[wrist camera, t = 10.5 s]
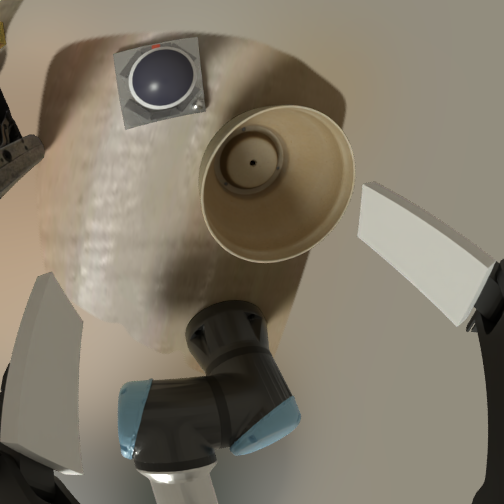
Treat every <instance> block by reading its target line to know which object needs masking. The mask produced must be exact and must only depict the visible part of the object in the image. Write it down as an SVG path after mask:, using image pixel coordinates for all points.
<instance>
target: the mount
mask: <svg viewBox="0 0 504 504" xmlns="http://www.w3.org/2000/svg"><path fill="white" fill-rule="evenodd" d="M158 47H174V48H178V49H180V50H182V51H184V52H185V53H187V54H188V55H189V56H190V57H191V59H192V60H193V62H194V64H195V67H196V74H197V76H196V82H195V85H194V88H193V90H192V91H191V93H190V94H189V95H188V97H187V98H186V99H185V100H183V101H182V102H181V103H179V104H177V105H175V106H173V107H170V108H167V109H151V108H148V107H145V106H143V105H141V104H140V103H139V102H138V101H136V100H135V98H134V97H133V95H132V94H131V91H130V88H129V74H130V71H131V68H132V67H133V65H134V63H135V62H136V61H137V60H138V58H139V57H141V56H142V55H143V54H144V53H146V52H148V51H150V50H152V49H154V48H158ZM113 57H114V65H115V73H116V80H117V86H118V93H119V99H120V104H121V110H122V115H123V120H124V125H125V130H127V129H130V128H134V127H137V126H141V125H145V124H149V123H153V122H157V121H161V120H165V119H170V118H174V117H179V116H184V115H189V114H194V113H199V112H205V111H206V108H205V100H204V92H203V83H202V74H201V65H200V55H199V45H198V37H192V38H185V39H178V40H172V41H166V42H161V43H156V44H151V45H146V46H142V47H138V48H134V49H130V50H126V51H122V52H119V53H115V54H113Z"/></svg>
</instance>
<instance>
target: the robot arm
mask: <svg viewBox="0 0 504 504" xmlns="http://www.w3.org/2000/svg"><path fill="white" fill-rule="evenodd" d="M357 237H358V238H360V239H361V240H362V241H363V242H365V243H366V244H367V245H368V246H369V247H371V248H372V249H373V250H374V251H375V252H377V253H378V254H379V255H380V256H381V257H382V258H384V259H385V260H386V261H387V262H388V263H390V264H391V265H392V266H393V267H394V268H395V269H397V271H399V272H400V273H401V274H402V275H403V276H404V277H405V278H406V279H408V280H409V281H410V282H411V283H412V284H413V285H414V286H415V287H417V289H419V290H420V291H421V292H422V293H423V294H424V295H425V296H426V297H427V298H428V299H429V300H430V301H431V302H432V303H433V304H434V305H435V306H437V308H439V309H440V310H441V311H442V312H443V313H444V314H445V315H446V316H447V317H448V318H449V319H450V320H451V321H452V322H453V323H454V324H455V325H456V326H457V327H458V326H459V325H460V324H461V323H462V322H463V321H464V320H465V319H466V318H467V317H468V315H469V314H470V312H471V310H472V308H473V307H475V308H476V311H475V313H474V315H473V316H472V318H471V320H470V321H469V323H468V325H467V327H466V331H467V332H468V331H469V330H470V329H471V327H472V326H473V324H474V323H475V325H474V327H473V328H472V331H471V332H478V337H479V342H480V347H481V352H482V358H483V365H484V373H485V381H486V391H487V402H488V403H487V405H488V455H487V468H486V477H485V482H484V484H483V486H482V487H481V488H480V489H479V491H478V492H477V493H476V495H475V497H474V498H473V502H472V504H504V259H503V260H501V262H500V263H498V262H497V261H496V260H495V259H493V258H492V257H491V256H490V255H488V254H487V253H486V252H485V251H483V250H482V249H481V248H479V247H478V246H477V245H475V244H474V243H473V242H471V241H470V240H469V239H467V238H466V237H464V236H463V235H462V234H460V233H459V232H457V231H456V230H454V229H453V228H451V227H450V226H449V225H447V224H446V223H444V222H443V221H441V220H440V219H438V218H436V217H435V216H433V215H432V214H430V213H429V212H427V211H425V210H424V209H422V208H420V207H419V206H417V205H416V204H414V203H412V202H411V201H409V200H407V199H405V198H404V197H402V196H400V195H399V194H397V193H395V192H393V191H391V190H390V189H388V188H386V187H384V186H382V185H380V184H378V183H376V182H370V183H365V184H363V186H362V198H361V209H360V218H359V227H358V235H357ZM82 328H83V321H82V319H81V317H80V316H79V315H78V313H77V312H76V310H75V309H74V307H73V306H72V304H71V302H70V301H69V299H68V298H67V296H66V295H65V293H64V291H63V290H62V288H61V286H60V285H59V283H58V281H57V280H56V278H55V276H54V275H53V273H52V272H49V273H46V274H43V275H41V276H38V277H37V279H36V282H35V284H34V287H33V289H32V292H31V294H30V297H29V300H28V303H27V306H26V308H25V312H24V314H23V318H22V321H21V324H20V327H19V331H18V334H17V337H16V341H15V345H14V349H13V353H12V357H11V361H10V363H9V364H8V367H7V369H6V371H5V373H4V375H3V380H2V385H1V391H2V392H0V504H80V503H79V502H78V501H77V500H76V499H75V498H74V496H73V495H72V494H71V493H70V491H69V490H68V489H67V488H66V487H65V485H64V484H63V483H62V482H61V480H59V479H58V478H57V477H56V476H54V472H53V469H54V470H56V471H58V472H61V473H63V474H69V475H83V467H82V458H81V449H80V437H79V417H78V384H79V382H78V381H79V361H80V348H81V337H82ZM185 337H186V341H187V345H188V348H189V350H190V352H191V354H192V355H193V356H194V358H195V359H196V361H197V362H198V363H199V365H200V366H201V367H202V369H203V370H204V371H205V374H206V376H202V377H191V378H180V379H167V380H153V379H149V380H145V381H132V382H127V383H125V384H124V385H123V386H122V388H121V390H120V393H119V400H118V434H119V442H120V446H121V453H122V455H123V456H124V457H126V458H128V459H132V458H134V462H135V466H136V469H137V471H139V472H140V473H141V474H143V475H144V476H146V477H148V479H150V482H151V485H152V489H153V492H154V495H155V498H156V501H157V504H218V501H217V498H216V494H215V491H214V488H213V484H212V481H211V477H210V471H211V470H212V468H213V467H214V466H215V465H216V463H217V459H216V455H215V450H216V449H220V448H225V447H230V451H231V452H232V453H233V454H234V455H242V454H248V453H251V452H254V451H257V450H259V449H261V448H264V447H266V446H268V445H270V444H272V443H274V442H276V441H278V440H279V439H281V438H283V437H284V436H286V435H287V434H289V433H290V432H291V431H293V430H294V429H295V428H296V427H297V426H298V424H299V423H300V420H301V414H300V411H299V409H298V406H297V404H296V401H295V398H294V396H292V394H291V392H290V390H289V388H288V386H287V384H286V382H285V380H284V378H283V376H282V374H281V372H280V370H279V368H278V366H277V364H276V363H275V361H274V359H273V357H272V355H271V353H270V350H269V343H268V332H267V324H266V320H265V318H264V316H263V314H262V312H261V311H260V309H259V308H258V307H257V306H255V305H253V304H251V303H248V302H244V301H227V302H222V303H218V304H215V305H213V306H210V307H208V308H206V309H204V310H203V311H201V312H200V313H198V314H197V315H196V316H195V317H194V318H193V319H192V320H191V321H190V323H189V324H188V326H187V328H186V333H185Z"/></svg>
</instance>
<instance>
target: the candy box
mask: <svg viewBox="0 0 504 504" xmlns="http://www.w3.org/2000/svg"><path fill="white" fill-rule="evenodd" d="M5 45H6V40H5V34H4V27H3V22H0V49H1V48H2V47H3V46H5Z"/></svg>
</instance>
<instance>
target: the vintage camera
mask: <svg viewBox="0 0 504 504" xmlns="http://www.w3.org/2000/svg"><path fill="white" fill-rule="evenodd" d="M44 154H45V151H44V146H43V144H42V142H41V141H40V139H39V138H38V137H37V136H35V135H28V136H25V137H22V136H21V134H20V132H19V129H18V127H17V125H16V123H15V121H14V120H13V118H12V116H11V113H10V110H9V107H8V105H7V103H6V100H5V98H4V96H3V93H2V91H1V89H0V199H1V197H2V196H4V195H5V193H6V192H7V191H8V190H9V189H10V188H11V187H12V186H13V185H14V184H15V183H16V182H18V180H20V179H21V178H22V177H23V176H24V175H25V174H26V173H27V172H28V171H30V170H31V169H32V168H33V167H34V166H35V165H36V164H38V163H39V162H40V161H41V160H42V159H43V158H44Z"/></svg>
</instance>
